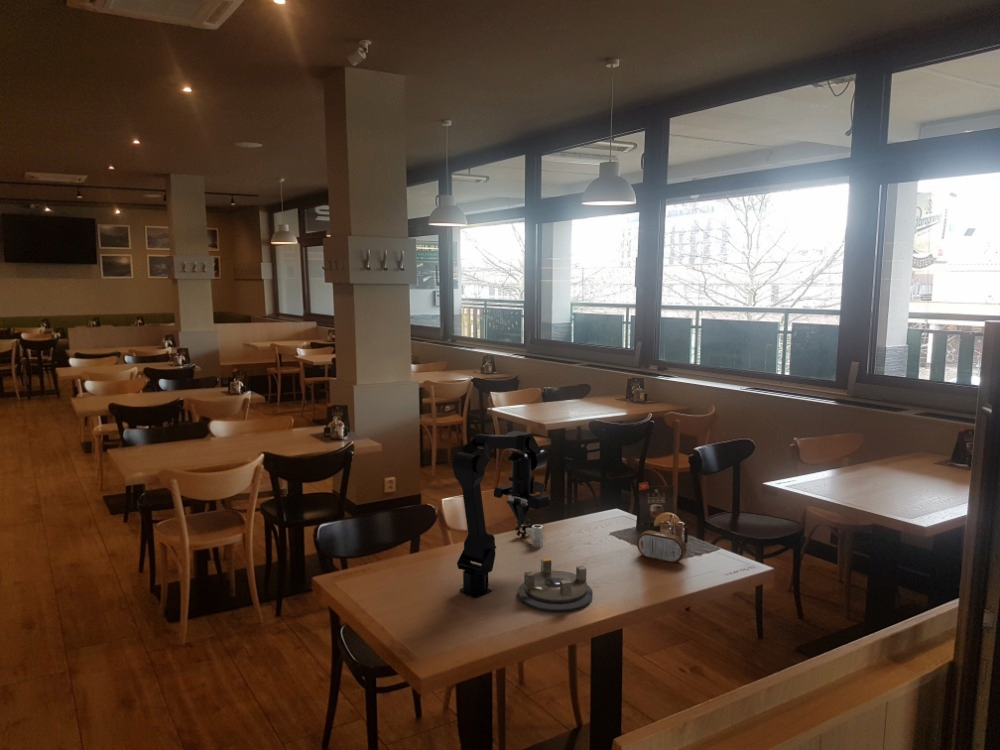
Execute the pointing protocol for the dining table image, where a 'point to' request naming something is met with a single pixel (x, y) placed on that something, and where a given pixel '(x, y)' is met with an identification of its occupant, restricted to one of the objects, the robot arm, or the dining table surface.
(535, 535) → the valve
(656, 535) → the tin
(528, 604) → the base plate
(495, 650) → the dining table surface
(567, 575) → the round fixture plate
